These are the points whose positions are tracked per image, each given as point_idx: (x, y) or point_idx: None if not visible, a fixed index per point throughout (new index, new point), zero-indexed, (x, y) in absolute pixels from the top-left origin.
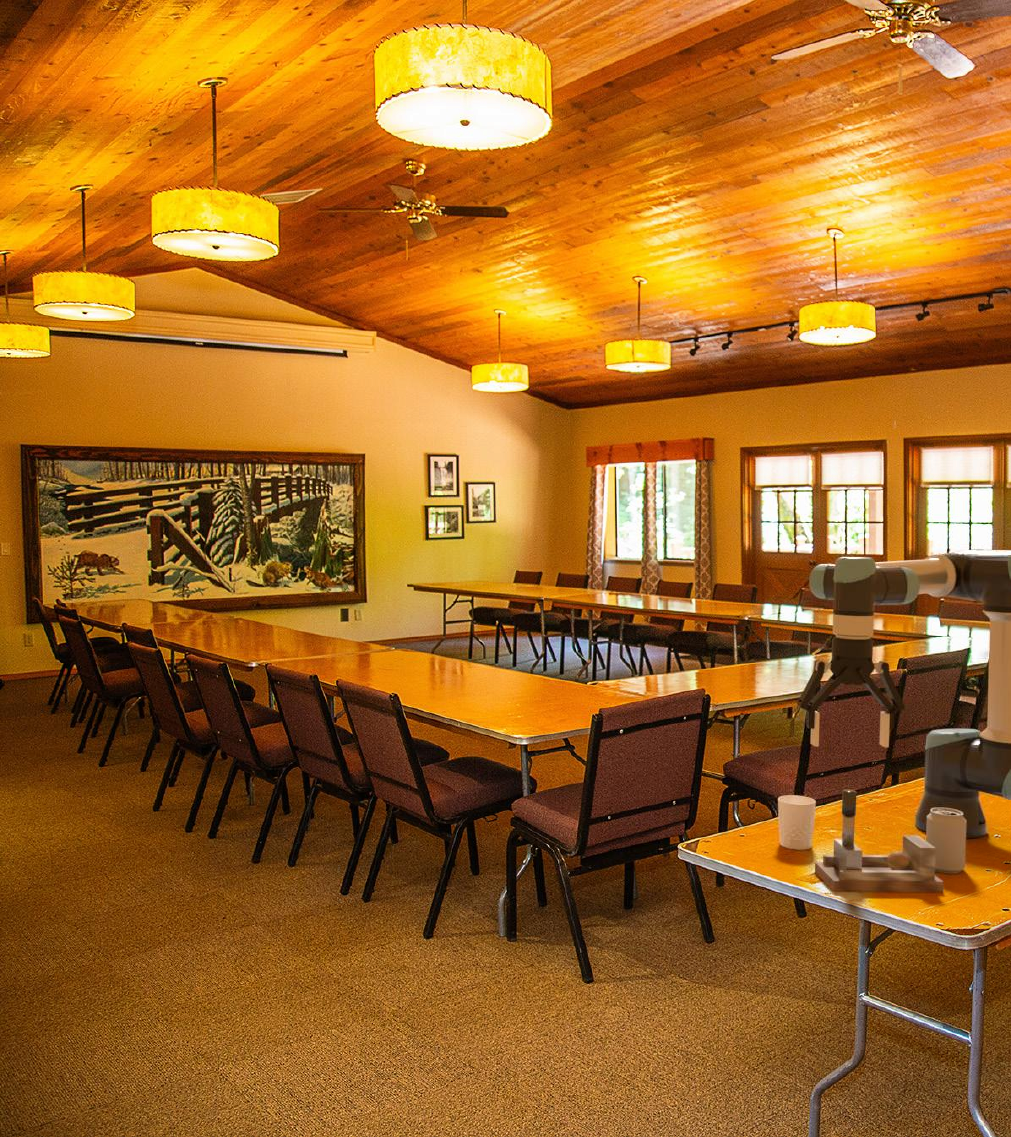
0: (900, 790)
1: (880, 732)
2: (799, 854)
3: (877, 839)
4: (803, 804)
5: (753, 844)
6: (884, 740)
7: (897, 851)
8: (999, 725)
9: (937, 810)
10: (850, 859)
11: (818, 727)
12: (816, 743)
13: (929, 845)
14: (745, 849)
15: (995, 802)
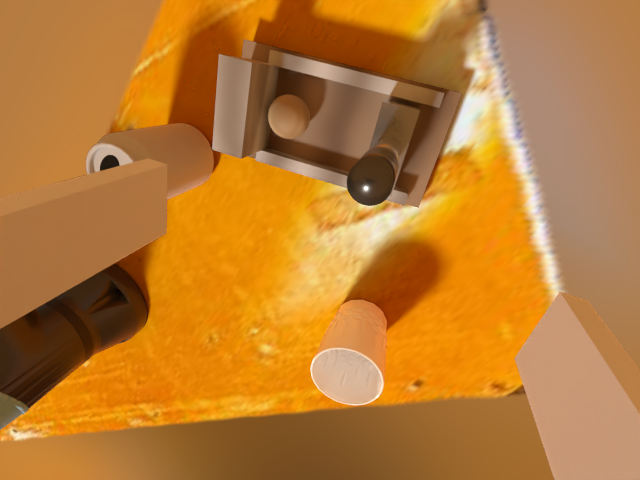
0: (108, 421)
1: (114, 254)
2: (383, 284)
3: (222, 298)
4: (323, 374)
5: (428, 347)
6: (139, 180)
7: (283, 120)
8: None
9: None
10: (411, 107)
11: (636, 397)
12: (585, 308)
13: (222, 76)
14: (460, 334)
15: None
